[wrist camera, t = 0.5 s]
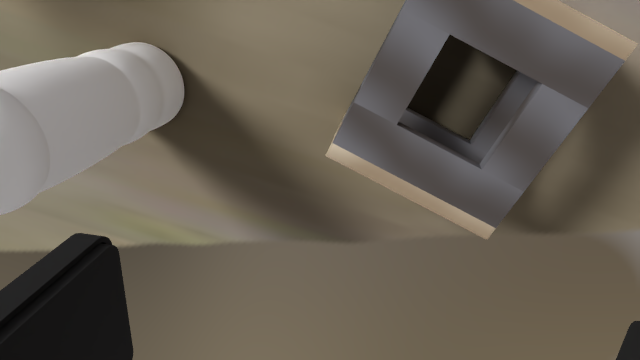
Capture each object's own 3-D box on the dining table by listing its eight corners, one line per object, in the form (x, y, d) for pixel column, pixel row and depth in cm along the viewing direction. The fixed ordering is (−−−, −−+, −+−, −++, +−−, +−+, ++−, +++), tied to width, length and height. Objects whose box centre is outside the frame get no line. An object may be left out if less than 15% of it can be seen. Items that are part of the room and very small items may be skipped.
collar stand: (432, -52, 32) (441, -64, 25) (582, 29, 33) (638, 43, 25) (341, 121, 38) (325, 155, 30) (470, 188, 38) (486, 239, 31)
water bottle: (93, 71, 40) (-315, 184, 17) (150, 23, 38) (-239, 81, 15) (146, 138, 42) (-164, 323, 19) (204, 96, 39) (-72, 250, 17)
